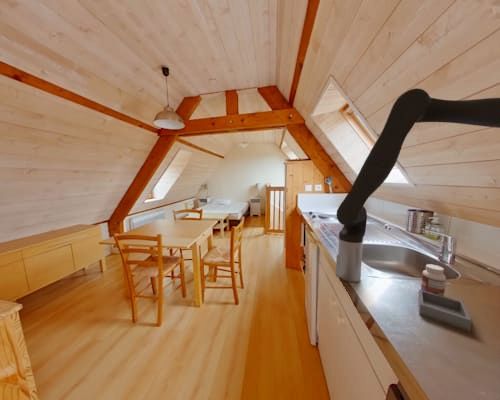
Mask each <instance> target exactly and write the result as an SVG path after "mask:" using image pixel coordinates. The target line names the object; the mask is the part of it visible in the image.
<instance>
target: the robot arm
mask: <svg viewBox="0 0 500 400" xmlns="http://www.w3.org/2000/svg"><path fill="white" fill-rule="evenodd" d="M392 104H393V105H392V107H391V109H390V111H389V114H388V117H387V118H386V122H385V123H384V126H383V129H382V131H381V133H380V134H379V136H378V138H377V140H376V141H375V143H374V145H373V146H372V148H371V150H370V151H369V153H368V156H367V157H366V159H365V160H364V162H363V165H362V167H361V168H360V170H359V172H358V174H357V177H356V178H355V180H354V182H353V184H352V186H351V187H350V189H349V191H348V193H347V195H345V198H344V199H343V201H342V202H341V203H340V204H339V206H338V208H337V210H336V219H337V222H339V224H341V225H343V227H342V229H341V230H340V231H339V233H338V245H337V246H338V250H337V255H336V261H335V262H336V263H335V277H337V278H339V279H340V280H343V281H345V282H349V283H358V282H360V281H361V277H362V258H363V244H364V236H365V234H366V229H367V220H368V219H367V218H368V214H367V213H368V212H367V209H366V208H365V203H366V201H367V200H368V199H369V198H370V196H371V195H372V194H374V193H375V192H376V191H377V190H378V189H379V188H380V187H381V186H382V185H383V183H384V182H385V181H386V180H387V178H388V177H389V175H390V174H391V172H392V170H393V168H394V167H395V165H396V163H397V161H398V158H399V156H400V152H401V150H402V147H403V144H404V143H405V140H406V139H407V138H406V137H407V136H408V134H409V133H410V132H411V129H413V127H414V126H415V124H416V123H417V124H418V123H449V124H451V123H452V124H460V125H461V124H462V125H471V126H476V127H477V126H478V127H489V128H496V129H500V97H487V98H478V99H463V100H458V99H457V100H453V99H452V100H449V99H441V98H436V97H435V98H434V97H431V96H430V95H429V93H428V92H427V91H426V90H424V89H422V88H419V87H418V88H412V89H409V90H407V91H405V92H403V93H401V95H400V96H398V97H397V99H396V100H395V101H394V103H392Z"/></svg>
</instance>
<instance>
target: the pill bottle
mask: <svg viewBox="0 0 500 400" xmlns="http://www.w3.org/2000/svg"><path fill="white" fill-rule="evenodd" d="M444 270H445V269H444V267H441V266H440V265H436V264H432V263H427V264H426V265H425V269H424V270H423V271H422V274H421V275H422V276H421V284H420V285H421V286H420V290H422V291H426V292H430V293H433V294H437V295H440V296H444V297H445V292H446V282H447V276H446V275H445V274H444V272H445V271H444Z"/></svg>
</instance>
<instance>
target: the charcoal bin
mask: <svg viewBox="0 0 500 400" xmlns="http://www.w3.org/2000/svg"><path fill="white" fill-rule="evenodd" d="M417 301H418V312H419V315H420V316H422V317H426V318H429V319H432V320H435V321H437V322H440V323H443V324H446V325H449V326H451V327H454V328H457V329H460V330H463V331H465V332H469V333H471V328H472V318H471V316H470V313H469V311H468V309H467V308H466V305H465V303H464V301H461V300H458V299H453V298H452V297H451V298H450V297H447V296H445V295H444V296H440V295H437V294H433V293H430V292H426V291H422V290H421V289H418V296H417Z"/></svg>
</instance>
